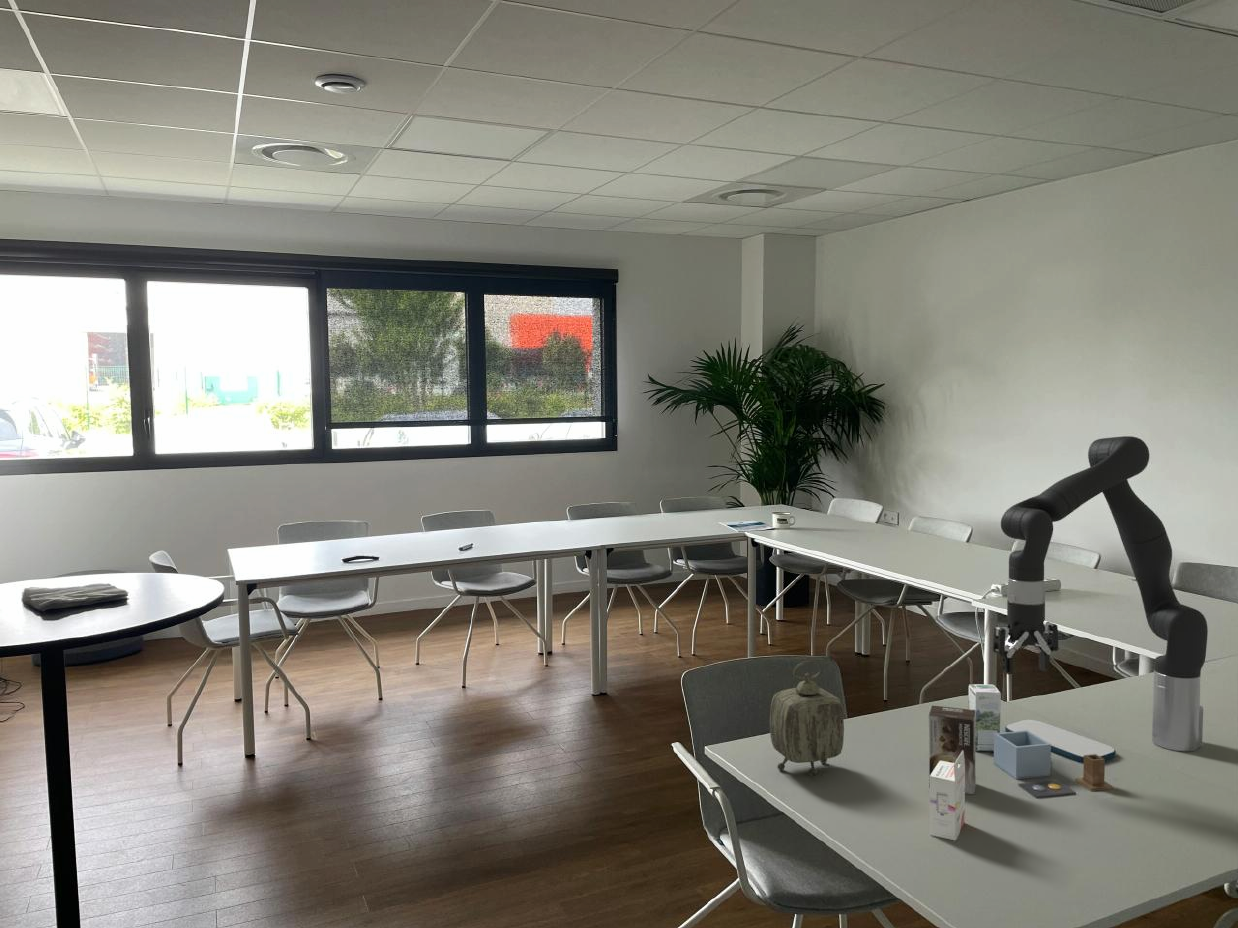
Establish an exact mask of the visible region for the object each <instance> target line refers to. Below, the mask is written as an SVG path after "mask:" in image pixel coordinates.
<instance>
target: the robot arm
mask: <svg viewBox="0 0 1238 928" xmlns="http://www.w3.org/2000/svg"><path fill="white" fill-rule="evenodd" d="M1087 458H1088V462H1089V467H1088V468H1085V469H1083V470H1080V471H1078V472H1076V473H1073V474H1070V475H1068V476H1066V477H1064V478H1062V479H1060V480H1058V481H1056V482H1054V483H1053V484H1052V485H1051V486H1049V487H1048V488H1047V489H1045V490H1043V491H1042V492H1041V493H1039V494H1037V495H1035V496H1032V497H1029V498H1027V499H1025V500H1022V501H1020V502H1018V503H1017V502H1016V504H1014V505H1012V506H1010V507H1009V508H1007V509H1006V510H1005V512H1004V513H1003V514H1002V517H1001V520H1000V528H1001V531H1002V532H1003V534H1004V535H1006V536H1007V537H1008V538H1011V539H1015V540H1020V541H1025V543H1024V547H1023V549H1020V550H1014V551H1013V552H1011V553H1010V554H1009V557H1008V583H1007V588H1006V589H1007V592H1006V593H1007V594H1006V595H1007V599H1006V601H1007V602H1006V607H1007V608H1006V613H1007V615H1006V618H1007V621H1008V622H1007V626H1006V627H1005V626H1004V627H1003V626H1002V627H1001V626H999V625H996V626H994V628H993V641H992V642H993V643H992V652H993V653H994V654H995V655H999V656H1001V670H1002V671H1003V672H1004V673H1005V675H1012V674H1013V655H1014V654H1015V653H1016V651H1018V650H1019V648H1020V647H1027V646H1036V648H1037V649H1038V651H1039V652H1038V669H1039V670H1040V671H1042V672H1048V670H1049V669H1050V664H1051V663H1050V659H1051V658H1050V655H1051V653H1052V652H1054V651H1055V652H1057V651H1058V650H1059V633H1058V632H1059V631H1058V628H1059V627H1058V625H1057V624H1055V623H1053V622H1050V621H1046V586H1045V585H1046V584H1045V561H1046V557H1047V555H1048V554H1047V553H1048V551H1049V547H1050V544H1051V541H1052V537H1053V534H1054V533H1053V532H1054V524H1053V523H1055V522H1060V521H1061V520H1063V519H1065V518H1067V517H1068V516H1069V515H1071V513H1073V512H1074V511H1076V510H1077V509H1079V508H1080V507H1081V506H1082V505H1084V504H1085V503H1087V502H1089V501H1090V500H1092V499H1094V497H1096V496H1097V495H1101V493H1102V494H1103V496H1104V498H1105V501H1106V503H1107V505H1108V507H1109V510H1110V513H1111V515H1112V517H1113V520H1114V522H1115V525H1116V528H1117V532H1118V534H1119V536H1120V540H1121V542H1122V545H1123V548H1124V551H1125V554H1126V557H1127V558H1128V561H1129V563H1130V566H1131V569H1132V572H1133V575H1134V578H1135V580H1136V581H1135V582H1136V583H1137V586H1138V589H1139V592H1140V596H1141V600H1142V606H1143V610H1144V613H1145V614H1144V615H1145V618H1146V621H1147V624H1148V626H1149V628H1150V631H1151V632H1152V633H1153V634H1154V635H1155V636H1156V637H1158V638H1159V639H1160V640H1161V639H1162V640H1164V641H1165V642H1166V651H1165V654H1164V655H1163V654H1161V655H1158V656H1156V657H1155V658H1154V661H1153V662H1154V663H1153V687H1152V688H1153V694H1152V729H1151V731H1152V733H1151V735H1152V736H1151V738H1152V739H1151V740H1152V742H1153V744H1155V745H1157V746H1158V747H1160V748H1164V749H1168V750H1171V751H1177V752H1178V751H1179V752H1193V751H1197V750H1199V748H1203V737H1204V736H1203V734H1204V733H1203V732H1204V731H1203V729H1204V727H1203V726H1204V707H1203V706H1202V705H1200V703H1201V676H1202V675H1201V671H1202V668H1203V667H1204V664H1205V662H1206V658H1207V657H1206V656H1207V644H1208V632H1209V629H1208V622H1207V619H1206V617H1205V615H1204V614H1203V613H1202V612H1201V611H1200V610H1198V609H1196V608H1193V607H1191V606H1188V605H1184V604H1182V603H1180V602H1179V600H1178V598H1177V595H1176V594H1175V591H1174V588H1173V586H1172V582H1171V578H1170V570H1171V566H1172V559H1173V549H1172V545H1171V541H1170V539H1169V535H1168V533H1167V531H1166V528H1165V525H1164V523H1163V522H1162V520H1161V519H1160V517H1159V516H1158V515H1157V514H1156V513H1155V512H1154V511H1153V510H1152V509H1151V508H1150V507H1149V506H1148V505H1147V504H1145V502H1144V501H1142V500H1141V499H1140V498H1139V496H1137V494H1136V493H1135V491H1134V490H1133V489H1132V487H1131V484H1129V479H1131V478H1133V477H1135V476H1138V475H1139V474H1141V473H1143V471H1145V470H1146V469H1147V467H1148V464H1149V462H1150V450H1149V448H1148V446H1147V443H1145V441H1144V440H1142V439H1141V438H1139V437H1136V436H1132V435H1131V436H1129V435H1128V436H1126V435H1125V436H1115V437H1114V436H1113V437H1104V438H1098V439H1095V440H1093V442H1092V443H1091V444H1090V445H1089V448H1088V452H1087ZM1045 621H1046V623H1044V622H1045ZM1044 633H1045V639H1044V638H1043V634H1044ZM1013 642H1014V643H1013Z"/></svg>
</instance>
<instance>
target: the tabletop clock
mask: <svg viewBox="0 0 1238 928" xmlns="http://www.w3.org/2000/svg"><path fill="white" fill-rule="evenodd" d="M806 665H815V666H817V667H818V669H819V671H818V672H817V673H816V674H814V675H812V676H811V675H810V673H808V672H807V673H805V675H804V677H803V676H802V677H801V676H798V675H796V671H797V670H798V669H799V668H801V667H802V666H806ZM822 670H823V669H822V666H821V664H820V663H819V662H816V661H814V660H806V661H802V662H800V663H798V664H796V666H795V667H794V669H793V670H792V671H793V672H792V673H793V676H794V678H796V679H797V680H798V681H799V680H800V682H799V683H798V684H797V686H796V687H792V688H787V689H783V690H780V691H779V692H777V693H775V694H773V697H772V699H771V702H770V708H769V709H770V710H769V734H770V741H771V744H772V746H773V749H774V750H775V751H776V752H778V753H779V754H780V755H782V756H783V757H784V760H783V761H782V762H779V763H778V764H777V769H778V770H780V771H783V770H785V765H786V763H787V762H788V761H789V762H792V763H797V764H801V763H802V764H803V763H810V766H811V768H810V769H809V774H810V775H811V776H812V777H813V776H814V777H815V776H817V774H818V770H817V769H816V768H815V762H819V761H820V763H822V764H827V761H828V760H829V759H831V758H836V757H837V756H839V755H840V754H841V753H842V750H843V747H844V735H845V724H844V723H845V722H844V711H843V710H844V709H843V705H842V702H841V700H840V698H839V697H837V696H835V695H833V694H832V693H831V692H829V691H828V690H825V689H824V688H823V687H820V686H818V684H817V683H816V682H814V681H813V680H815V679H816V678H817V677H819V676H820V675H821V673H822Z"/></svg>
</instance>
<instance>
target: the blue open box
mask: <svg viewBox="0 0 1238 928" xmlns="http://www.w3.org/2000/svg"><path fill="white" fill-rule="evenodd" d="M1051 755H1052V752H1051V744H1049V743H1048V742H1046V741H1044V740H1043V739H1041V738H1039V737H1038V736H1036V735H1034V734H1032V733H1031V732H1029V731H1016V732H1005V731H1004V732H1000V733H995V734H994V752H993V765H995V766H997V768H999V769H1000V770H1002V771H1003V772H1005V773H1006V774H1008V775H1009V776H1011V777H1012V778H1013V779H1015V780H1021V779H1023V780H1024V779H1031V778H1039V777H1040V778H1041V777H1050V776H1051V770H1052V769H1051V766H1052V765H1051V764H1052V762H1051V761H1052V759H1051V758H1052V756H1051Z"/></svg>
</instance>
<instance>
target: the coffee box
mask: <svg viewBox="0 0 1238 928" xmlns="http://www.w3.org/2000/svg"><path fill="white" fill-rule="evenodd" d="M928 747H929V748H928V749H929V750H928V751H929V752H928V753H929V754H928V756H929V757H928V761H929V763H928V771H929V772H928V774H929V775H928V776H929V777H928V779H929V780H928V781H929V782H928V784H929V785H928V788H929V789H930V775H931V773H932V772H933V770H934V769H935V767H936V766H937V764H938V763H939V761H946V762H951V763H955V762H956V760H957V758H958V757H959V755H960V754H961V752H962V751H964V761H965V794H969V795H975V791H976V784H977V783H976V778H977V777H976V751H975V710H969V709H968V708H959V707H951V706H950V707H949V706H942V705H941V706H939V705H931V708H930V711H929V713H928ZM959 764H961V762H959Z"/></svg>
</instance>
